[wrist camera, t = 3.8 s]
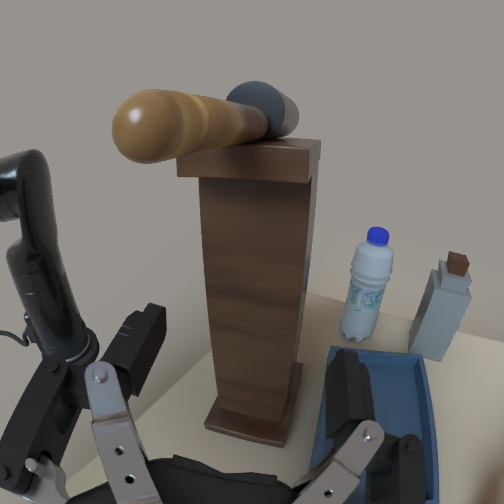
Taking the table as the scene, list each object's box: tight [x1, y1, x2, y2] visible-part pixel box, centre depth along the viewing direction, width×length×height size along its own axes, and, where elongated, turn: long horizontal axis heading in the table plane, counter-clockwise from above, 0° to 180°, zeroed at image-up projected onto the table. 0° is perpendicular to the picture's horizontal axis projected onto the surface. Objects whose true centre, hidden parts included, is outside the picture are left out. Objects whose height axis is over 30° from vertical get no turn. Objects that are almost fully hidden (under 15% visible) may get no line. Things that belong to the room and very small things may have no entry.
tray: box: [309, 346, 439, 504], centre depth 27 cm, size 26×16×3 cm, turn 164°
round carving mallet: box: [112, 81, 299, 164], centre depth 15 cm, size 21×4×4 cm, turn 164°
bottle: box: [340, 227, 393, 342], centre depth 42 cm, size 7×7×20 cm
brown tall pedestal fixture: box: [176, 137, 321, 448], centre depth 28 cm, size 14×10×32 cm
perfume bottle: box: [408, 251, 472, 361], centre depth 38 cm, size 7×7×18 cm
